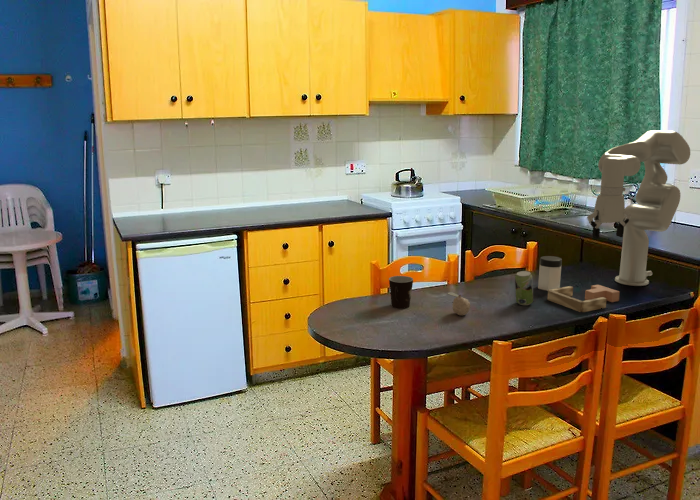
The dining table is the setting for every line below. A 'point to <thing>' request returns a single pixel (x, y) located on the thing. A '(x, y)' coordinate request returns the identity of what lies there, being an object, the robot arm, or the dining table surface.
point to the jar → (549, 272)
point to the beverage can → (524, 288)
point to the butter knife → (454, 294)
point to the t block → (602, 293)
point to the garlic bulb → (460, 305)
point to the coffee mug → (400, 291)
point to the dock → (574, 300)
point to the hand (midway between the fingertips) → (607, 237)
